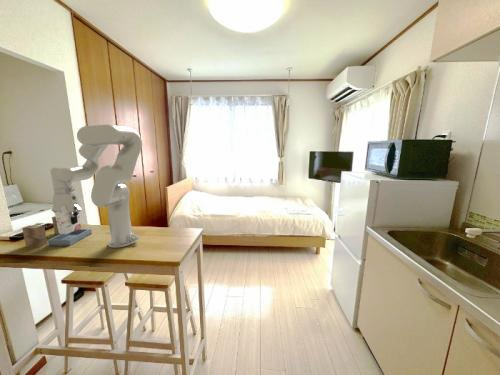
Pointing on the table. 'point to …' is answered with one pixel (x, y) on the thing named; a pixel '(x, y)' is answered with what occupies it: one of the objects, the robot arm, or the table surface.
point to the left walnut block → (34, 236)
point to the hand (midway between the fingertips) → (68, 223)
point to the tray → (69, 238)
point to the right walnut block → (55, 225)
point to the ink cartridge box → (66, 221)
